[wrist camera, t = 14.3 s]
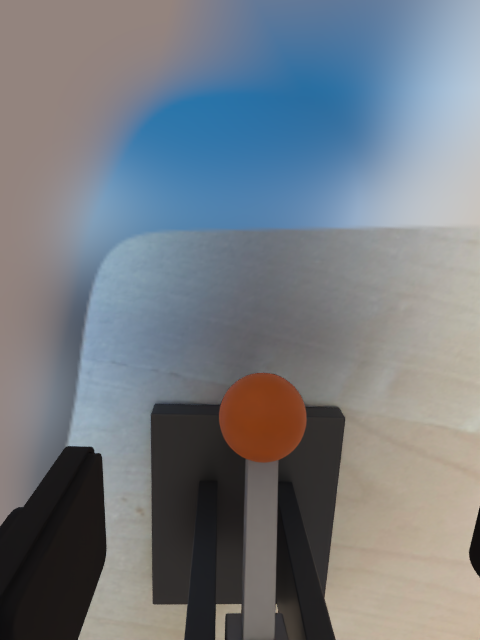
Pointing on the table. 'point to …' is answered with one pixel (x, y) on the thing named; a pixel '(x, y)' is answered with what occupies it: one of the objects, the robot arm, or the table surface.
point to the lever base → (240, 518)
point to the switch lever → (260, 491)
